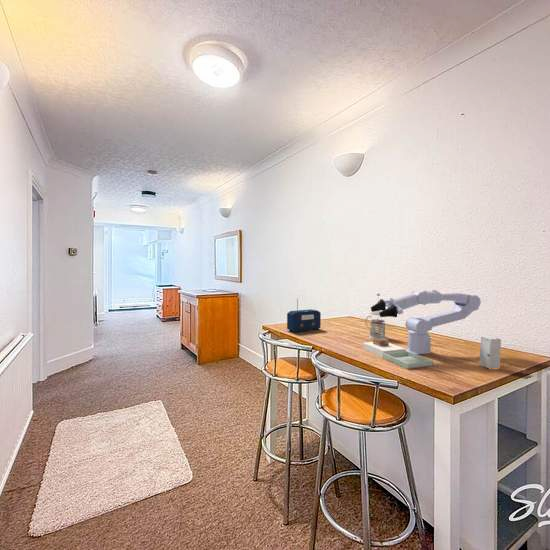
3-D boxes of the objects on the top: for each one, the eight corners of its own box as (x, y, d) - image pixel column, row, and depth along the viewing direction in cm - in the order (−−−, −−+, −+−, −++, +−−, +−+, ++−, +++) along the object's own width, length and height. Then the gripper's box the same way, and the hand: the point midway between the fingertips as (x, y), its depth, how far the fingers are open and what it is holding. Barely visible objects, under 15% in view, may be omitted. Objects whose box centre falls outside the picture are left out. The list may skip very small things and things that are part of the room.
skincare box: (478, 364, 124) (479, 335, 123) (489, 364, 124) (490, 335, 123) (489, 369, 118) (490, 338, 117) (500, 369, 117) (501, 338, 117)
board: (383, 346, 150) (383, 340, 150) (405, 355, 136) (405, 348, 136) (362, 348, 146) (363, 342, 146) (383, 357, 132) (383, 351, 132)
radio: (293, 333, 180) (294, 300, 179) (286, 330, 188) (286, 298, 187) (321, 329, 190) (322, 298, 189) (313, 327, 198) (313, 297, 197)
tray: (406, 355, 136) (406, 350, 136) (433, 365, 122) (433, 360, 122) (382, 358, 132) (382, 353, 132) (407, 369, 118) (407, 363, 118)
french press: (388, 340, 164) (389, 294, 164) (366, 339, 166) (367, 294, 165) (385, 336, 174) (385, 292, 173) (364, 335, 176) (364, 292, 175)
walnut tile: (381, 343, 146) (381, 337, 146) (388, 345, 141) (388, 340, 141) (372, 343, 145) (373, 338, 144) (379, 346, 140) (379, 341, 140)
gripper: (392, 291, 146) (366, 299, 144) (410, 299, 132) (382, 309, 130) (394, 304, 147) (368, 313, 146) (412, 314, 134) (385, 323, 132)
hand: (375, 312), depth 138 cm, fingers open, 7 cm apart
